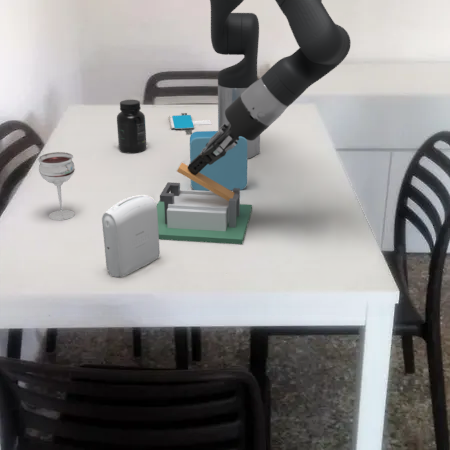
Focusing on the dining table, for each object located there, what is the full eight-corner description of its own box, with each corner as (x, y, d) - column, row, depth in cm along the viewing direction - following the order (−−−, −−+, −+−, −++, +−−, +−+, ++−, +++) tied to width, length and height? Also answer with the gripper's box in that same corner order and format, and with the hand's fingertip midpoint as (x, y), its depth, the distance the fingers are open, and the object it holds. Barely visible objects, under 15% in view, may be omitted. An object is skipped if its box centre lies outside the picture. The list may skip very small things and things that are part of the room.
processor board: (252, 209, 146) (252, 177, 143) (242, 244, 132) (242, 210, 129) (160, 204, 148) (158, 173, 146) (140, 238, 134) (138, 204, 131)
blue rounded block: (245, 182, 159) (245, 130, 154) (247, 190, 155) (247, 136, 150) (191, 183, 159) (189, 131, 154) (191, 191, 155) (189, 137, 150)
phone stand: (214, 135, 192) (214, 129, 191) (169, 137, 190) (169, 131, 190) (207, 114, 210) (207, 108, 209) (166, 116, 208) (165, 110, 208)
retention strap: (239, 194, 138) (182, 161, 137) (237, 200, 135) (179, 166, 134) (236, 199, 138) (179, 166, 137) (234, 205, 136) (176, 172, 135)
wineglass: (41, 211, 146) (34, 154, 141) (75, 206, 148) (69, 150, 143) (47, 224, 140) (40, 165, 135) (82, 218, 142) (76, 161, 137)
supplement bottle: (143, 143, 184) (140, 97, 179) (149, 152, 178) (146, 104, 173) (116, 146, 182) (113, 99, 177) (121, 155, 176) (118, 106, 171)
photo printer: (119, 280, 120) (114, 212, 115) (102, 272, 122) (96, 205, 117) (163, 258, 127) (160, 193, 122) (146, 251, 129) (142, 186, 124)
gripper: (246, 84, 134) (183, 145, 141) (237, 103, 122) (169, 169, 129) (274, 113, 136) (211, 172, 142) (268, 134, 124) (199, 197, 131)
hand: (191, 170), depth 136 cm, fingers closed
